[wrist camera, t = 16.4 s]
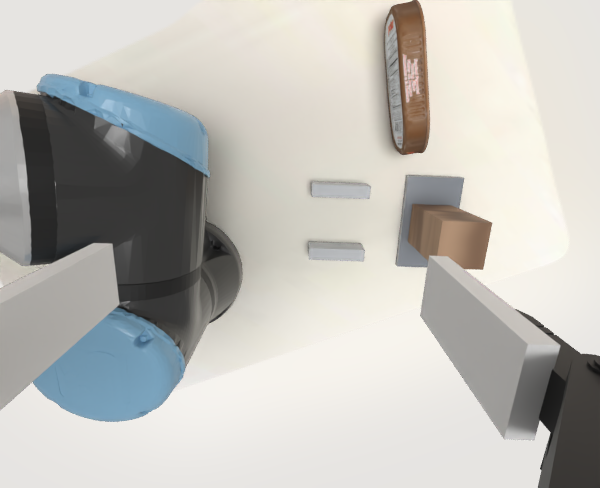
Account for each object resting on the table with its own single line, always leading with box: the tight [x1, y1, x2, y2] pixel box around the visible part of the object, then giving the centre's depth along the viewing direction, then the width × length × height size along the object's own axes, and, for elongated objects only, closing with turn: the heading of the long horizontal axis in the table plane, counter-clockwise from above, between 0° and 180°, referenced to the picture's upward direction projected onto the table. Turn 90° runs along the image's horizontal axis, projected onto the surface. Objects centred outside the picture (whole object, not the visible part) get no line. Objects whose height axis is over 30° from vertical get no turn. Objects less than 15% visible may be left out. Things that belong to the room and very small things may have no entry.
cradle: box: [308, 181, 371, 261], centre depth 45 cm, size 7×10×3 cm
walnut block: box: [408, 204, 492, 270], centre depth 41 cm, size 5×5×10 cm
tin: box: [384, 0, 430, 155], centre depth 38 cm, size 15×3×8 cm, turn 9°
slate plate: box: [396, 175, 464, 267], centre depth 46 cm, size 7×12×1 cm, turn 178°
